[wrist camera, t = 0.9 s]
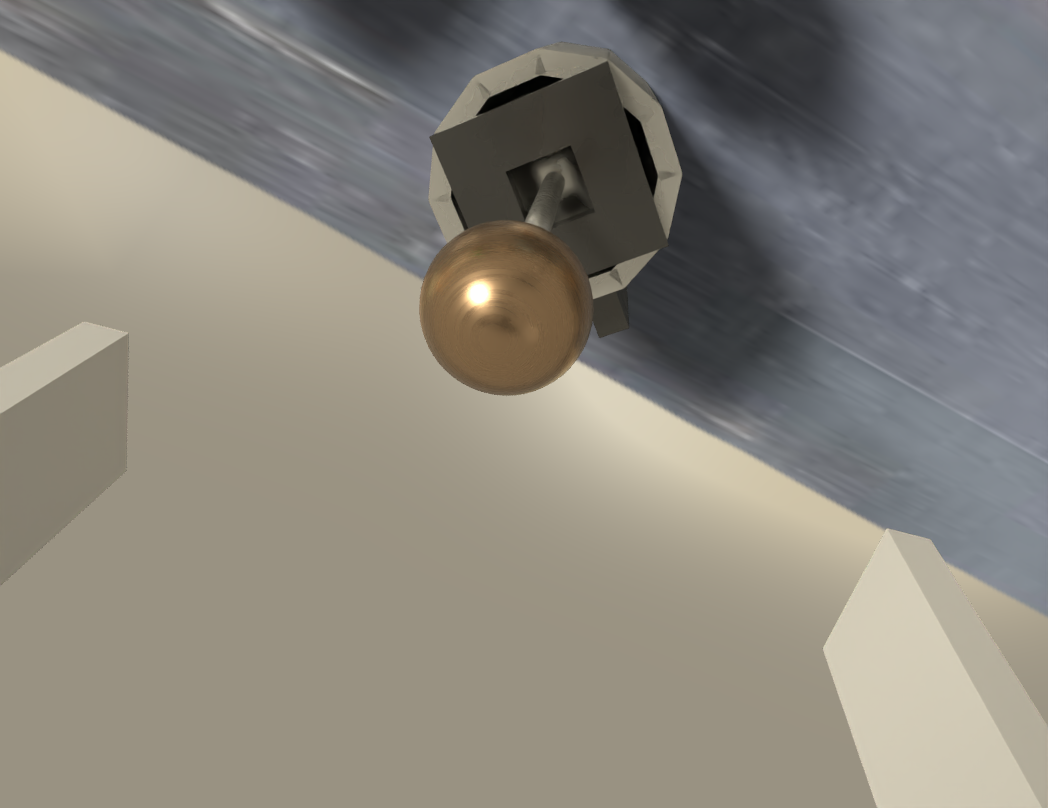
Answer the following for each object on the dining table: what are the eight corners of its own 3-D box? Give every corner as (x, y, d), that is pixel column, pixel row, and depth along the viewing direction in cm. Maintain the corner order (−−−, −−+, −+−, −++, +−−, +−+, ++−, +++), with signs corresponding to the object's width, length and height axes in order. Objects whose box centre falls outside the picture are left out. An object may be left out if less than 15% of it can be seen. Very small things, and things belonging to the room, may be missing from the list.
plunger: (608, 58, 35) (601, 97, 16) (664, 230, 38) (716, 435, 19) (442, 128, 37) (262, 238, 18) (509, 286, 40) (413, 524, 21)
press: (625, 13, 47) (631, 6, 31) (694, 233, 52) (729, 322, 36) (455, 87, 49) (382, 116, 34) (537, 290, 54) (506, 395, 39)
